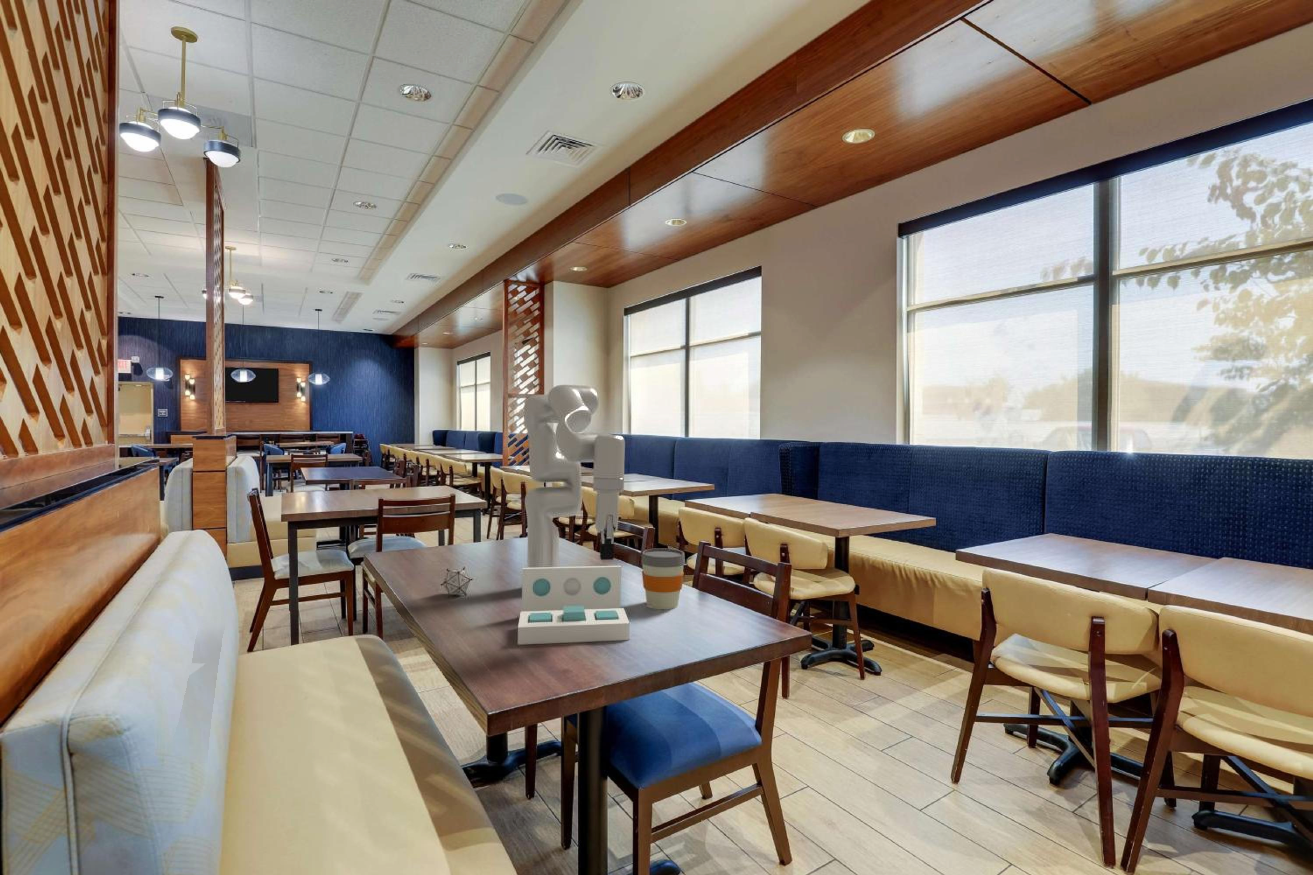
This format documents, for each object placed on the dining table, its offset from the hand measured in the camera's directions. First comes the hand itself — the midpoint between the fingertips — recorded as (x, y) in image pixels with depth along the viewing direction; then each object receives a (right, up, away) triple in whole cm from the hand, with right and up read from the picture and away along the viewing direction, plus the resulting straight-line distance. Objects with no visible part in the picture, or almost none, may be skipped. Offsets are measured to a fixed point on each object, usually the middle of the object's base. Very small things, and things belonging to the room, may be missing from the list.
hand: (606, 558), depth 150 cm
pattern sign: (-10, -18, +13) cm, 24 cm away
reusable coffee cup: (+14, -18, +24) cm, 33 cm away
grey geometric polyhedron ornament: (-47, -17, +30) cm, 58 cm away
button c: (0, -17, 0) cm, 17 cm away
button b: (-8, -15, -1) cm, 17 cm away
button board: (-8, -18, -1) cm, 20 cm away
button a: (-16, -17, -3) cm, 23 cm away
